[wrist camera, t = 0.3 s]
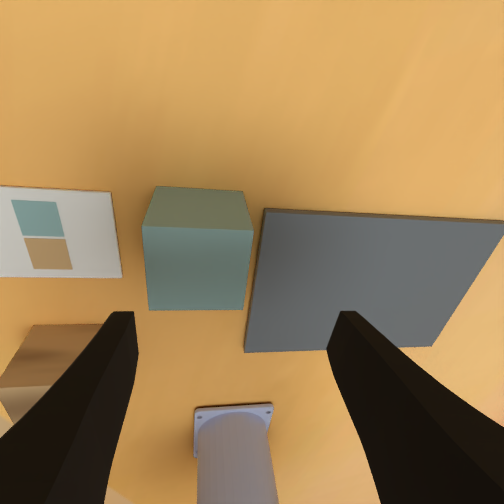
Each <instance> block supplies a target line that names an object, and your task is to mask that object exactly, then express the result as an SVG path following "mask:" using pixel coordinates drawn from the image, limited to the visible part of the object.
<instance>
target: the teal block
mask: <svg viewBox="0 0 504 504" xmlns="http://www.w3.org/2000/svg"><path fill="white" fill-rule="evenodd" d="M141 227H142V238H143V249H144V260H145V272H146V283H147V294H148V305H149V310H243V307H244V299H245V292H246V285H247V278H248V270H249V263H250V256H251V249H252V241H253V234H254V229H253V226H252V222H251V219H250V215H249V212H248V208H247V205H246V201H245V198H244V194H243V191H229V190H213V189H197V188H181V187H165V186H156V189H155V191H154V194H153V197H152V199H151V202H150V205H149V207H148V210H147V213H146V215H145V218H144V221H143V223H142V226H141Z"/></svg>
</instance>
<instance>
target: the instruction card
mask: <svg viewBox="0 0 504 504" xmlns="http://www.w3.org/2000/svg"><path fill="white" fill-rule="evenodd" d="M0 277H49V278H122V277H123V274H122V267H121V260H120V253H119V246H118V239H117V232H116V225H115V217H114V210H113V203H112V196H111V192H104V191H87V190H69V189H52V188H34V187H17V186H0Z"/></svg>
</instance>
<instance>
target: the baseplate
mask: <svg viewBox="0 0 504 504" xmlns="http://www.w3.org/2000/svg"><path fill="white" fill-rule="evenodd" d="M503 235H504V221H497V220H478V219H459V218H440V217H421V216H403V215H384V214H365V213H346V212H327V211H308V210H289V209H270V208H265V209H264V216H263V223H262V229H261V236H260V242H259V249H258V256H257V262H256V269H255V275H254V282H253V289H252V295H251V302H250V308H249V315H248V322H247V328H246V335H245V341H244V353H254V352H283V351H312V350H326V347H327V345H328V342H329V339H330V337H331V334H332V331H333V329H334V326H335V323H336V321H337V318H338V315H339V313H340V311H357V312H358V313H359V314H360V315H361V316H363V317H364V318H365V319H366V320H367V321H368V322H369V323H370V324H372V325H373V326H374V327H375V328H376V329H377V330H378V331H379V332H380V333H382V334H383V335H384V336H385V337H386V338H387V339H388V340H389V341H391V342H392V343H393V344H394V345H395V346H396V347H397V348H398V347H427V346H432V345H433V343H434V342H435V340H436V339H437V337H438V336H439V334H440V333H441V331H442V330H443V328H444V326H445V325H446V323H447V322H448V320H449V319H450V317H451V316H452V314H453V313H454V311H455V309H456V308H457V306H458V305H459V303H460V302H461V300H462V299H463V297H464V296H465V294H466V292H467V291H468V289H469V288H470V286H471V285H472V283H473V282H474V280H475V278H476V277H477V275H478V274H479V272H480V271H481V269H482V268H483V266H484V265H485V263H486V261H487V260H488V258H489V257H490V255H491V254H492V252H493V251H494V249H495V248H496V246H497V244H498V243H499V241H500V240H501V238H502V237H503Z"/></svg>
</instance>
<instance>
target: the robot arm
mask: <svg viewBox="0 0 504 504" xmlns="http://www.w3.org/2000/svg"><path fill="white" fill-rule="evenodd" d="M326 350H327V354H328V358H329V362H330V365H331V369H332V372H333V375H334V378H335V380H336V383H337V385H338V388H339V390H340V393H341V395H342V397H343V400H344V402H345V404H346V407H347V409H348V412H349V414H350V416H351V419H352V421H353V423H354V426H355V428H356V431H357V433H358V435H359V438H360V440H361V443H362V446H363V448H364V451H365V454H366V457H367V460H368V463H369V466H370V470H371V473H372V476H373V479H374V482H375V485H376V489H377V492H378V496H379V499H380V502H381V504H504V427H503V426H501V425H499V424H498V423H496V422H495V421H493V420H492V419H490V418H488V417H487V416H486V415H484V414H483V413H481V412H480V411H478V410H477V409H475V408H474V407H472V406H471V405H469V404H468V403H467V402H465V401H464V400H462V399H461V398H460V397H458V396H457V395H456V394H454V393H453V392H451V391H450V390H449V389H447V388H446V387H445V386H443V385H442V384H441V383H439V382H438V381H437V380H436V379H434V378H433V377H432V376H431V375H429V374H428V373H427V372H426V371H424V370H423V369H422V368H421V367H419V366H418V365H417V364H416V363H415V362H414V361H412V360H411V359H410V358H409V357H408V356H406V355H405V354H404V353H403V352H402V351H401V350H400V349H398V348H397V347H396V346H395V345H394V344H393V343H392V342H391V341H389V340H388V339H387V338H386V337H385V336H384V335H383V334H382V333H380V332H379V331H378V330H377V329H376V328H375V327H374V326H373V325H372V324H370V323H369V322H368V321H367V320H366V319H365V318H364V317H363V316H361V315H360V314H359V313H358V312H357V311H340V313H339V315H338V318H337V321H336V323H335V326H334V329H333V331H332V334H331V337H330V339H329V342H328V345H327V347H326ZM138 355H139V352H138V343H137V334H136V325H135V317H134V311H114V312H113V313H111V314H110V316H109V317H108V318H107V320H106V321H105V323H104V324H103V325H102V327H101V328H100V329H99V331H98V332H97V333H96V334H95V336H94V337H93V338H92V340H91V341H90V342H89V343H88V345H87V346H86V347H85V348H84V350H83V351H82V352H81V353H80V354H79V356H78V357H77V358H76V359H75V360H74V361H73V363H72V364H71V365H70V366H69V367H68V369H67V370H66V371H65V372H64V373H63V374H62V375H61V376H60V378H59V379H58V380H57V381H56V382H55V383H54V384H53V385H52V386H51V387H50V388H49V390H48V391H47V392H46V393H45V394H44V395H43V396H42V397H41V398H40V399H39V400H38V401H37V402H36V403H35V404H34V405H33V406H32V408H31V409H30V410H29V411H28V412H27V413H26V414H25V415H24V416H23V417H22V418H21V419H20V420H19V421H17V422H16V423H15V424H14V425H13V426H12V427H11V428H10V429H9V430H8V431H7V432H6V433H5V434H4V435H3V436H2V437H1V438H0V504H104V500H105V495H106V489H107V484H108V479H109V474H110V470H111V466H112V462H113V458H114V454H115V450H116V447H117V443H118V440H119V436H120V432H121V429H122V425H123V422H124V418H125V414H126V411H127V407H128V403H129V400H130V396H131V393H132V389H133V385H134V380H135V374H136V367H137V361H138ZM273 410H274V407H273V405H272V404H255V405H240V406H225V407H210V408H198V409H196V410H195V417H194V454H193V456H194V457H195V458H198V465H197V504H279V501H278V495H277V489H276V483H275V477H274V471H273V465H272V459H271V453H270V448H269V442H268V436H267V432H268V428H269V425H270V421H271V417H272V414H273Z"/></svg>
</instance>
